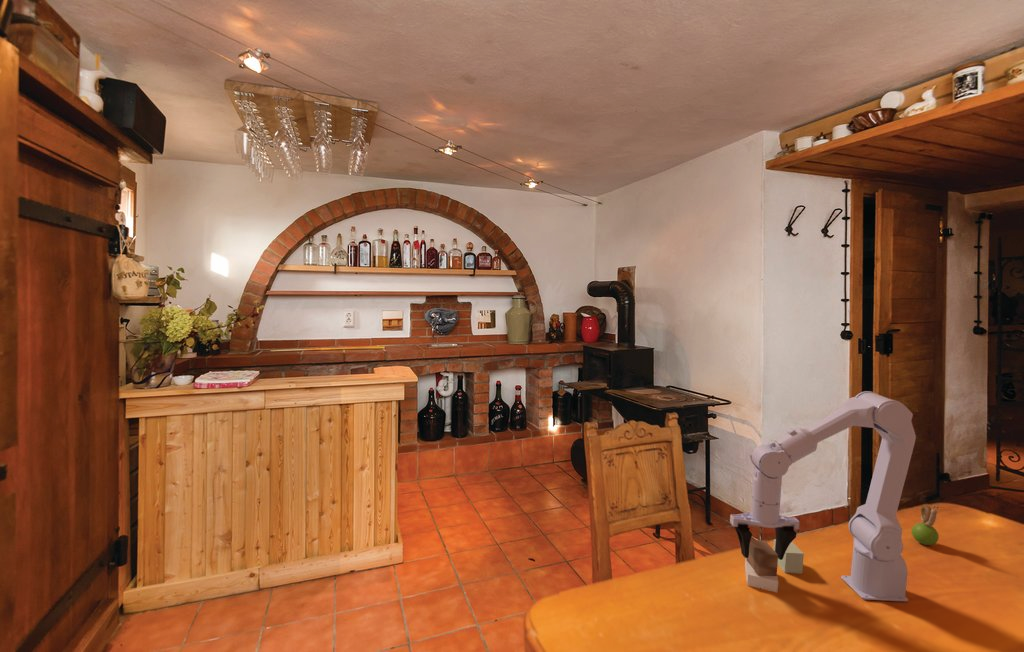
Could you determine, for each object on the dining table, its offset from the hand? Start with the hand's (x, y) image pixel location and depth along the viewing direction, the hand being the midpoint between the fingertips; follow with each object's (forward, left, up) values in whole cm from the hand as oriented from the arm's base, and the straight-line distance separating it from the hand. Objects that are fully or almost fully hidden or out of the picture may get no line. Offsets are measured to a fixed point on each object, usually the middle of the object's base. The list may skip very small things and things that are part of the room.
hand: (761, 556), depth 110 cm
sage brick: (-9, -6, -6) cm, 12 cm away
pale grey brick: (0, 0, -6) cm, 6 cm away
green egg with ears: (-51, -19, -6) cm, 55 cm away
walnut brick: (0, 0, -3) cm, 3 cm away
